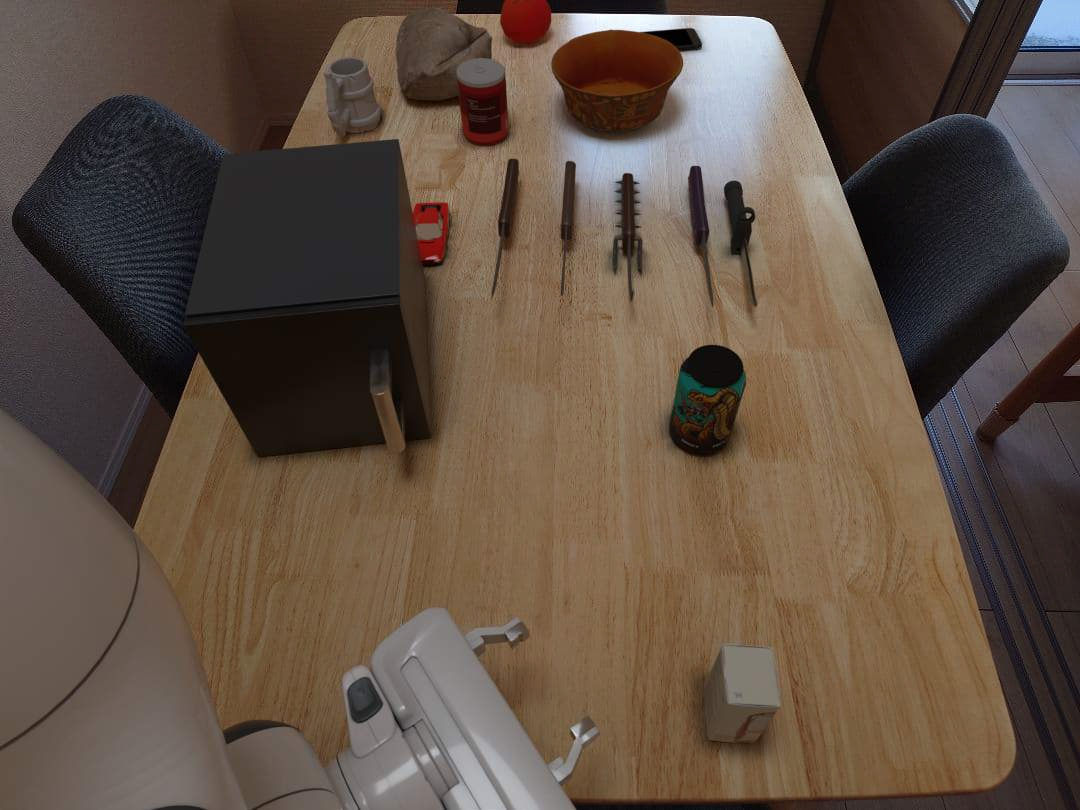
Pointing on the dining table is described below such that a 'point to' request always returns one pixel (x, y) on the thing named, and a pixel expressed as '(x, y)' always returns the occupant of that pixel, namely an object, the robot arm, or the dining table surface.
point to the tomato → (525, 20)
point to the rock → (436, 52)
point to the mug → (351, 96)
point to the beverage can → (707, 399)
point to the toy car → (432, 230)
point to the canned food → (483, 101)
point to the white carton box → (741, 693)
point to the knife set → (698, 215)
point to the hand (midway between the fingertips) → (558, 673)
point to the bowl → (616, 77)
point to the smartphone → (679, 37)
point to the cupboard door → (316, 375)
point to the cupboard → (313, 236)
